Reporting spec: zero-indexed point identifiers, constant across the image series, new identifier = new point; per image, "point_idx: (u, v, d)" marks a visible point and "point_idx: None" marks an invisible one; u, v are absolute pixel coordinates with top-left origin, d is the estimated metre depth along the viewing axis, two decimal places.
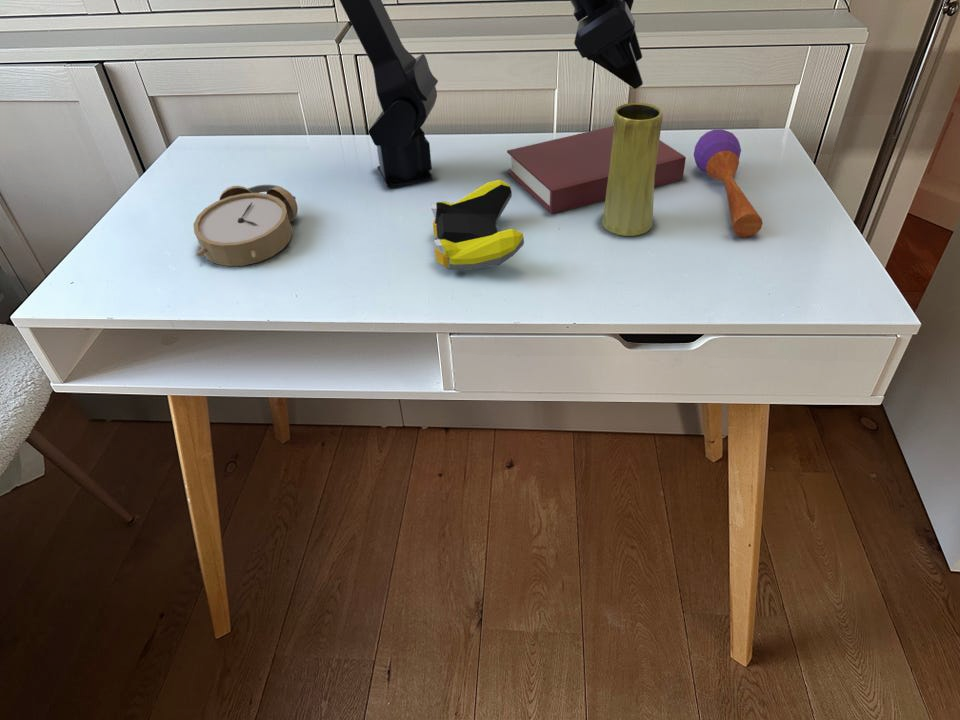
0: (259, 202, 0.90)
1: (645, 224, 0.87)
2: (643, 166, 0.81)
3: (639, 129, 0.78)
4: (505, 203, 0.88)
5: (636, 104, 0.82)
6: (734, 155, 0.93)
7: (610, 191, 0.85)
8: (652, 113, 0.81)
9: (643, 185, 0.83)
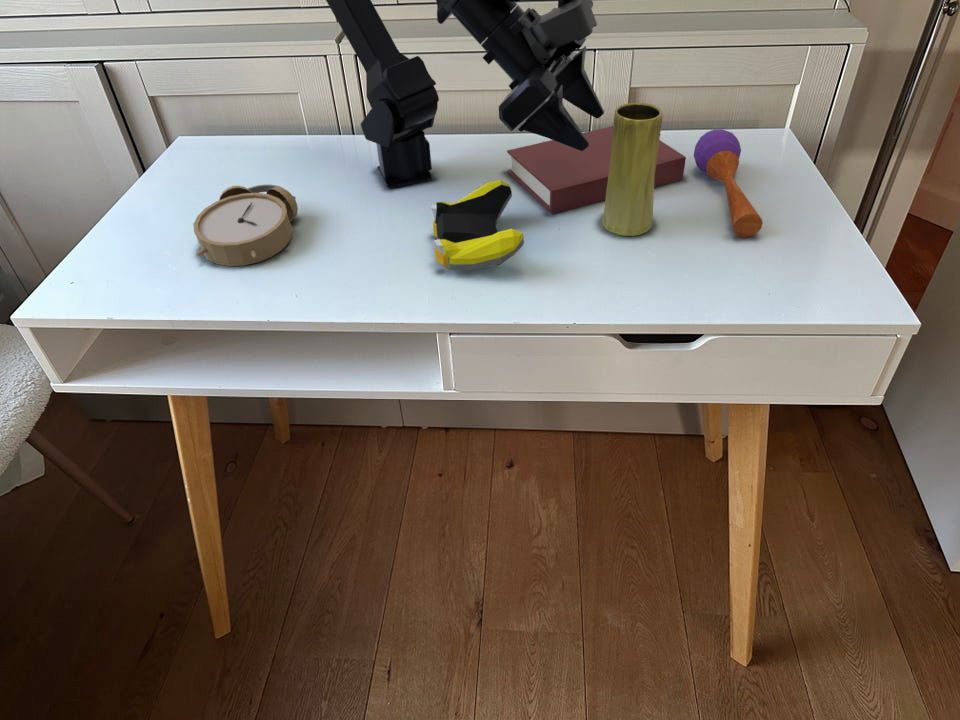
0: (259, 202, 0.90)
1: (645, 224, 0.87)
2: (643, 166, 0.81)
3: (638, 129, 0.78)
4: (505, 203, 0.88)
5: (636, 104, 0.82)
6: (734, 155, 0.93)
7: (610, 191, 0.85)
8: (652, 113, 0.81)
9: (643, 185, 0.83)
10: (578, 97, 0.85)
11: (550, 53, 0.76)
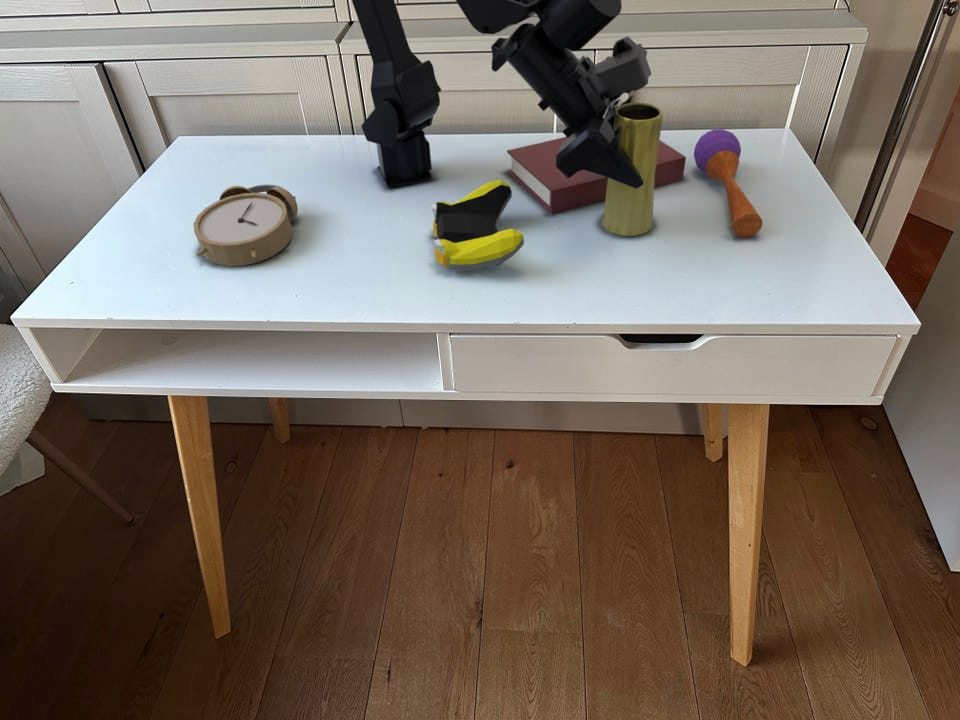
0: (259, 202, 0.90)
1: (645, 224, 0.87)
2: (643, 166, 0.81)
3: (639, 129, 0.78)
4: (505, 203, 0.88)
5: (636, 104, 0.82)
6: (734, 155, 0.93)
7: (610, 191, 0.85)
8: (652, 113, 0.81)
9: (643, 185, 0.83)
10: None
11: (606, 102, 0.78)
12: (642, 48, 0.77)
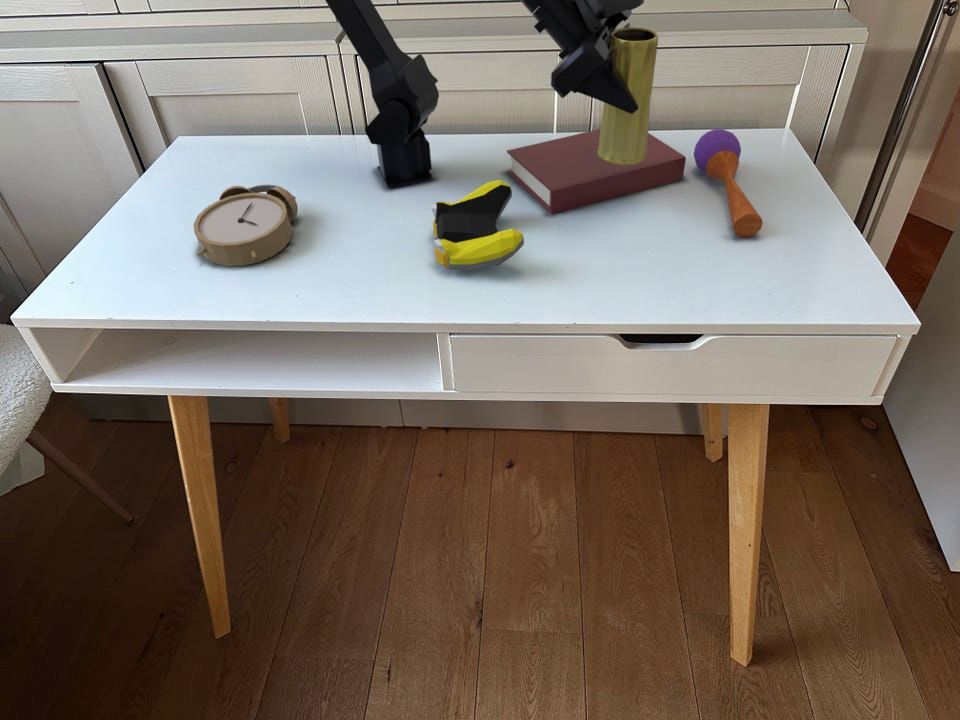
0: (259, 202, 0.90)
1: (640, 153, 0.87)
2: (638, 90, 0.82)
3: (634, 51, 0.79)
4: (505, 203, 0.88)
5: (632, 29, 0.82)
6: (734, 155, 0.93)
7: (606, 118, 0.85)
8: (648, 38, 0.82)
9: (638, 111, 0.83)
10: None
11: (602, 22, 0.78)
12: None
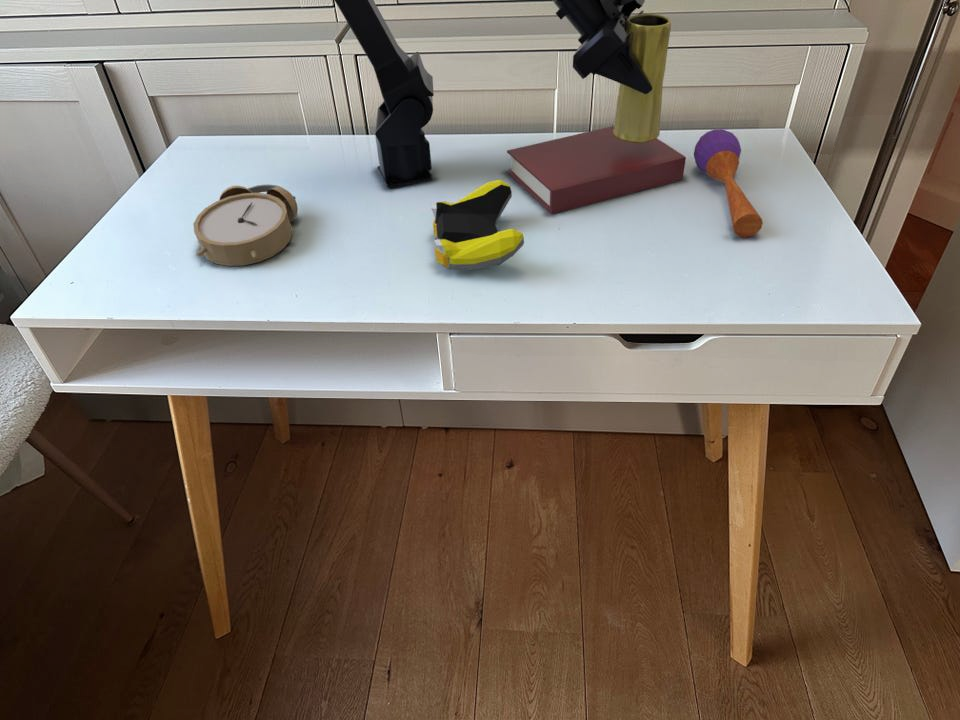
0: (259, 202, 0.90)
1: (653, 132, 0.93)
2: (652, 72, 0.88)
3: (649, 35, 0.85)
4: (505, 203, 0.88)
5: (646, 15, 0.88)
6: (734, 155, 0.93)
7: (621, 99, 0.92)
8: (661, 24, 0.88)
9: (652, 92, 0.90)
10: None
11: (619, 9, 0.84)
12: None
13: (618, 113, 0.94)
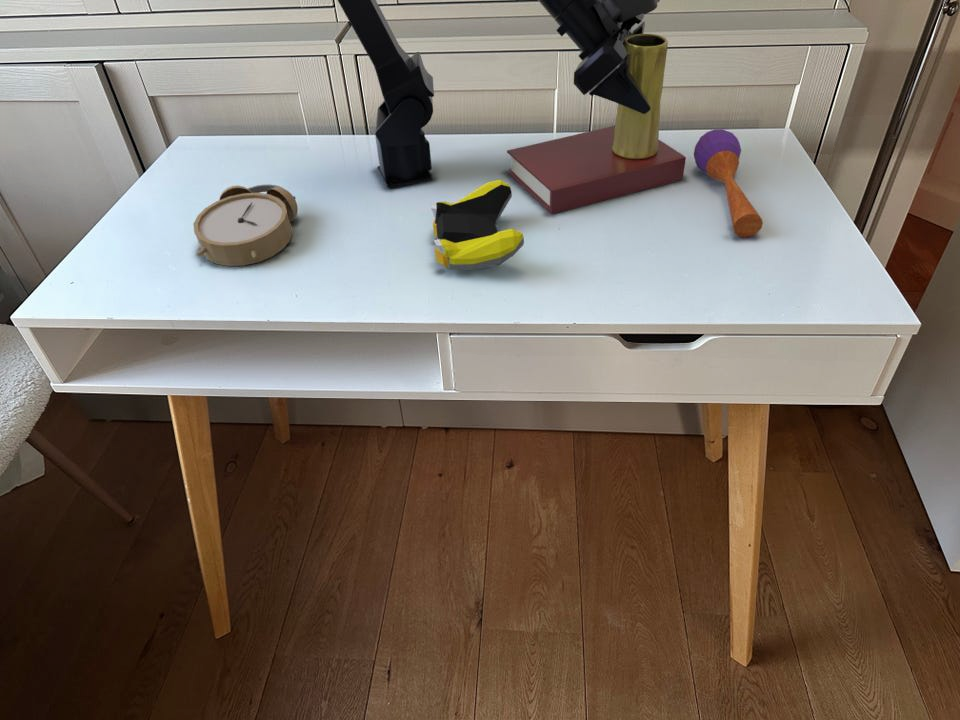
0: (259, 202, 0.90)
1: (652, 148, 0.95)
2: (650, 91, 0.90)
3: (646, 55, 0.87)
4: (505, 203, 0.88)
5: (643, 35, 0.90)
6: (734, 155, 0.93)
7: (620, 116, 0.93)
8: (658, 43, 0.90)
9: (650, 110, 0.91)
10: None
11: (618, 25, 0.86)
12: None
13: (617, 130, 0.95)
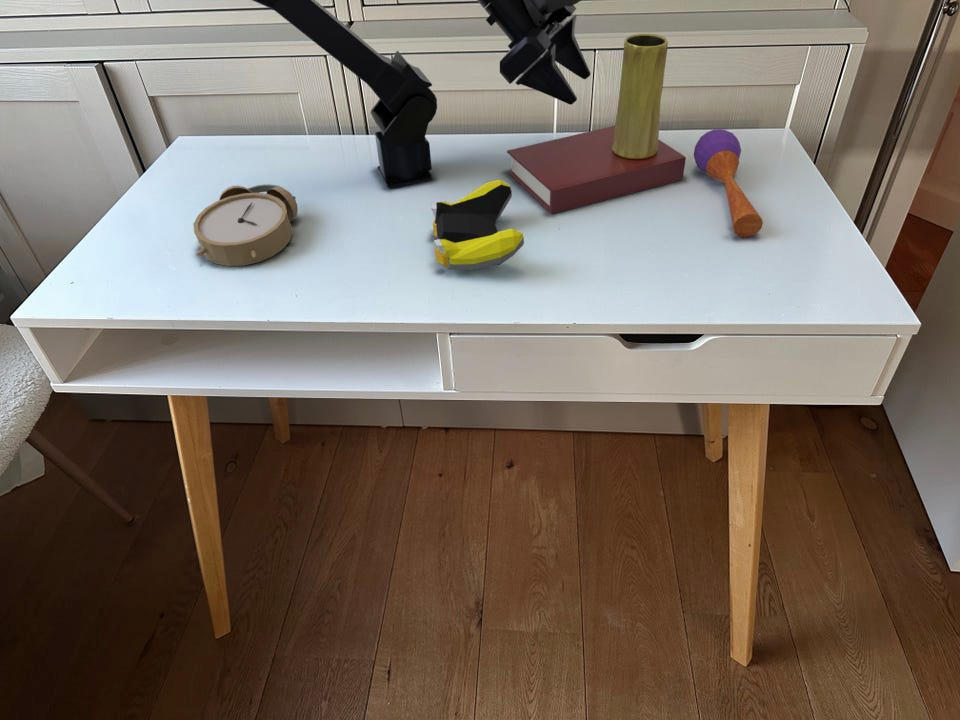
0: (259, 202, 0.90)
1: (652, 148, 0.95)
2: (650, 91, 0.90)
3: (646, 55, 0.87)
4: (505, 203, 0.88)
5: (644, 35, 0.90)
6: (734, 155, 0.93)
7: (620, 116, 0.93)
8: (658, 43, 0.90)
9: (650, 110, 0.91)
10: (568, 60, 0.97)
11: (545, 17, 0.88)
12: None
13: (617, 130, 0.95)
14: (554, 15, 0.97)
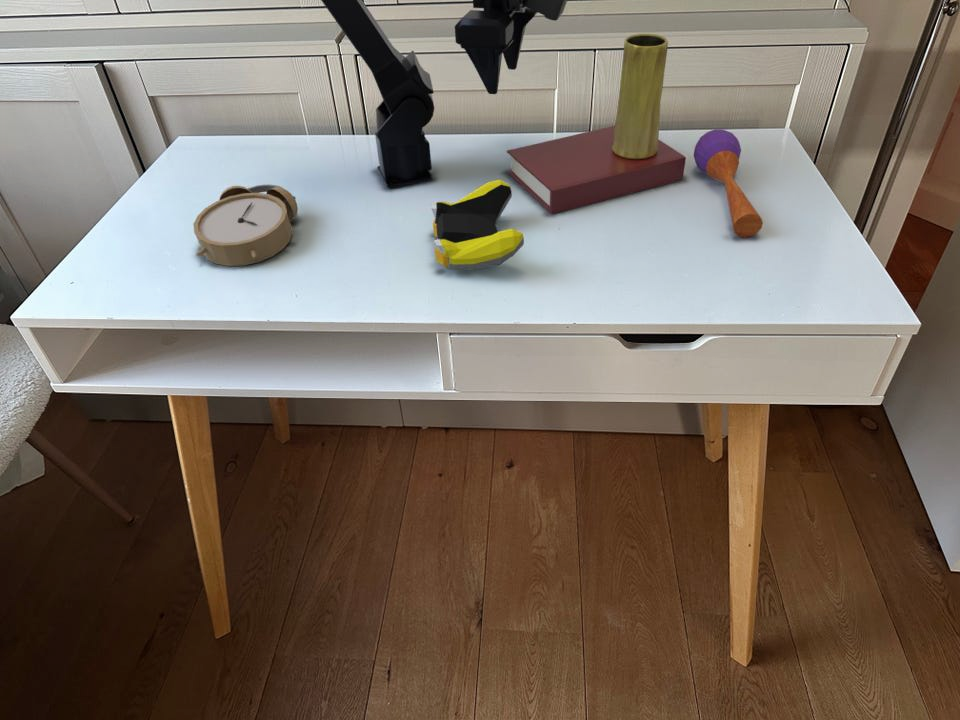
0: (259, 202, 0.90)
1: (652, 148, 0.95)
2: (650, 91, 0.90)
3: (646, 55, 0.87)
4: (505, 203, 0.88)
5: (644, 35, 0.90)
6: (734, 155, 0.93)
7: (620, 116, 0.93)
8: (658, 43, 0.90)
9: (650, 110, 0.91)
10: None
11: (520, 7, 0.86)
12: None
13: (617, 130, 0.95)
14: None
